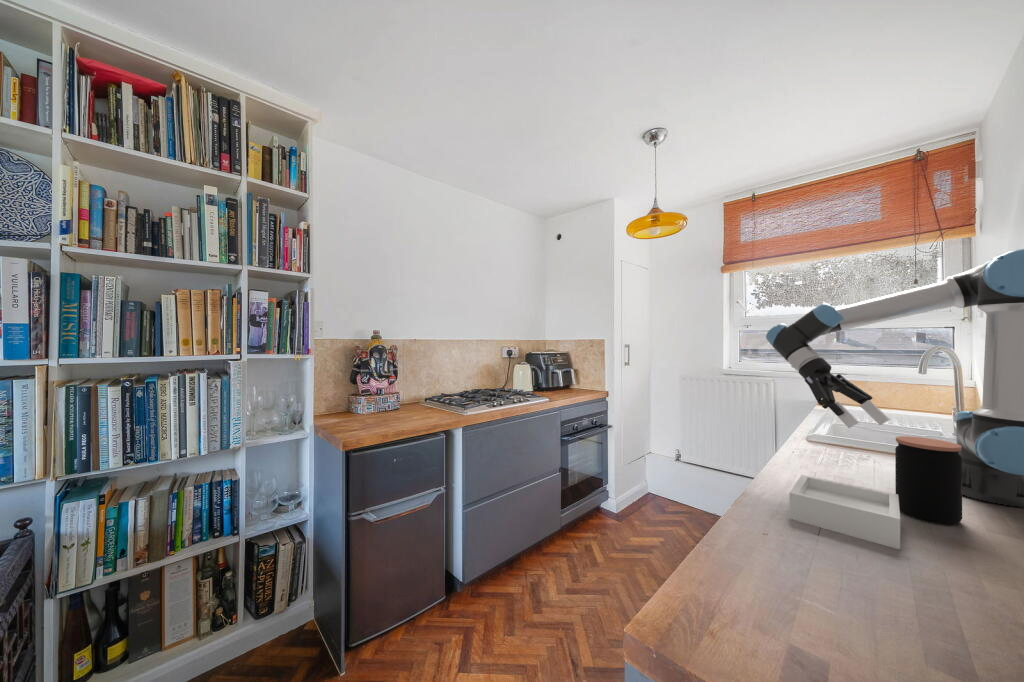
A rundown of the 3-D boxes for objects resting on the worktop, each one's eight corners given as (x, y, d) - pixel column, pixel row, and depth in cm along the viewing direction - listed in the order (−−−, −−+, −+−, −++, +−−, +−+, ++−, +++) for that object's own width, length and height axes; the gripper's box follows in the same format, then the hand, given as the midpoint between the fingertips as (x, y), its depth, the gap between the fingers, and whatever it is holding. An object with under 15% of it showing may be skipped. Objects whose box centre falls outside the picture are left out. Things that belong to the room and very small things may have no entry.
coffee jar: (977, 529, 82) (977, 449, 83) (920, 524, 85) (920, 446, 85) (933, 508, 93) (933, 437, 93) (883, 504, 95) (883, 435, 95)
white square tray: (898, 522, 86) (898, 494, 86) (900, 551, 74) (900, 519, 74) (801, 498, 99) (801, 474, 99) (789, 520, 87) (789, 492, 87)
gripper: (826, 372, 120) (884, 428, 106) (772, 373, 112) (828, 434, 98) (845, 356, 115) (909, 413, 101) (790, 356, 107) (852, 418, 93)
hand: (869, 423), depth 99 cm, fingers open, 13 cm apart
